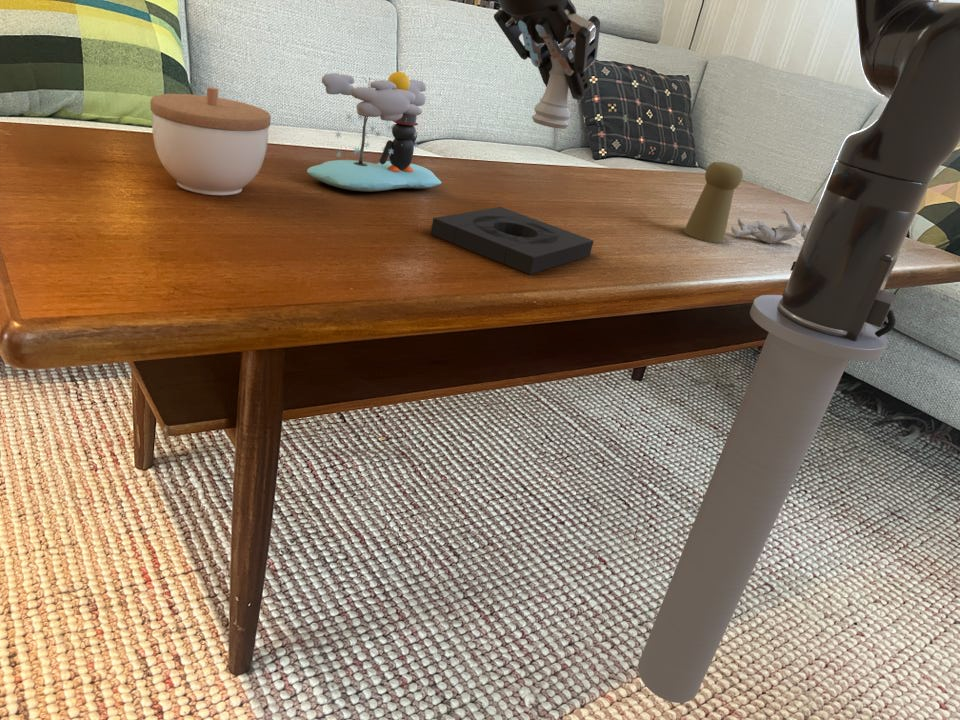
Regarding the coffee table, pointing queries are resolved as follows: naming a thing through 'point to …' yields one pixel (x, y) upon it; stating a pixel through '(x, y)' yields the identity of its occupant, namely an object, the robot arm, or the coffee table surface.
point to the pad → (512, 239)
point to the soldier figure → (772, 230)
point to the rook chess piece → (554, 99)
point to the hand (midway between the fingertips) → (568, 90)
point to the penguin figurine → (390, 105)
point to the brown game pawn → (714, 203)
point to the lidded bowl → (209, 141)
